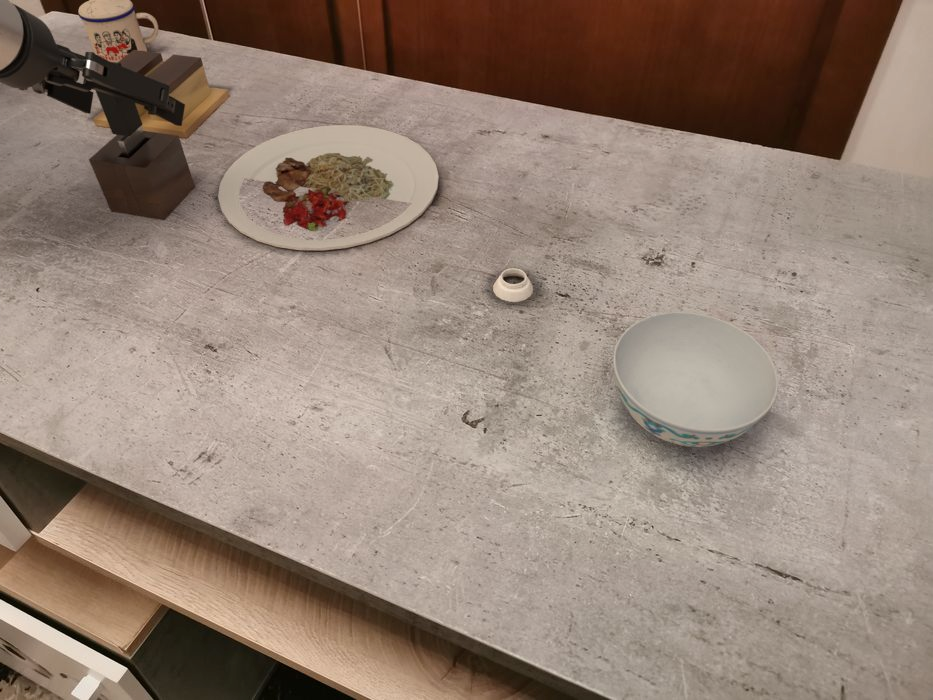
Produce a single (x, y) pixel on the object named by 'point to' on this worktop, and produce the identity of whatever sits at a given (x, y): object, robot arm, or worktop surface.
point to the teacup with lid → (114, 28)
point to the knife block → (144, 176)
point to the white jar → (513, 286)
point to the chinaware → (693, 378)
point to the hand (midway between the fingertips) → (134, 108)
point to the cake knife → (123, 122)
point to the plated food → (331, 181)
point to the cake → (174, 91)
